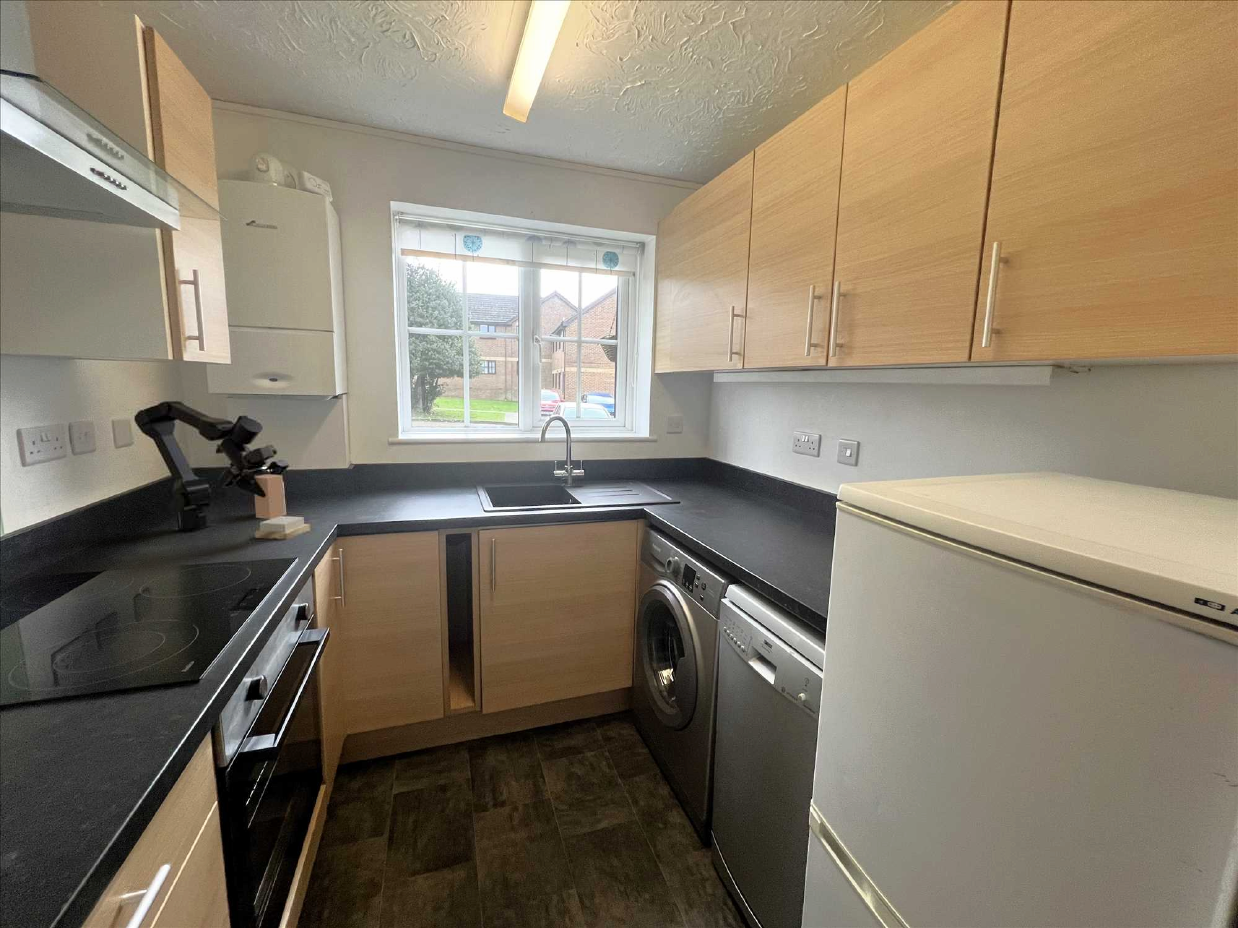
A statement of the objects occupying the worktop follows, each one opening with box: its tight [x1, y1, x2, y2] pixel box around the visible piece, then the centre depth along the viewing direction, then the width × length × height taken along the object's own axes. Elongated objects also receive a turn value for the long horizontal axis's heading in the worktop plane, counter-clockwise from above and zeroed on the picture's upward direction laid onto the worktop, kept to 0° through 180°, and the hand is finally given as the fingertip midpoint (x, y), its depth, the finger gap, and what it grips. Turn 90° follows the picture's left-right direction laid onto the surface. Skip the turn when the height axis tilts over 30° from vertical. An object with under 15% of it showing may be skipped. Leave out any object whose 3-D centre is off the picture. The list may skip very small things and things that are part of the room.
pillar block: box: [254, 474, 286, 520], centre depth 150 cm, size 5×5×12 cm
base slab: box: [254, 523, 311, 540], centre depth 157 cm, size 10×10×2 cm
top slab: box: [259, 515, 305, 532], centre depth 157 cm, size 8×8×2 cm
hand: (273, 494), depth 150 cm, fingers closed on pillar block, 5 cm apart
